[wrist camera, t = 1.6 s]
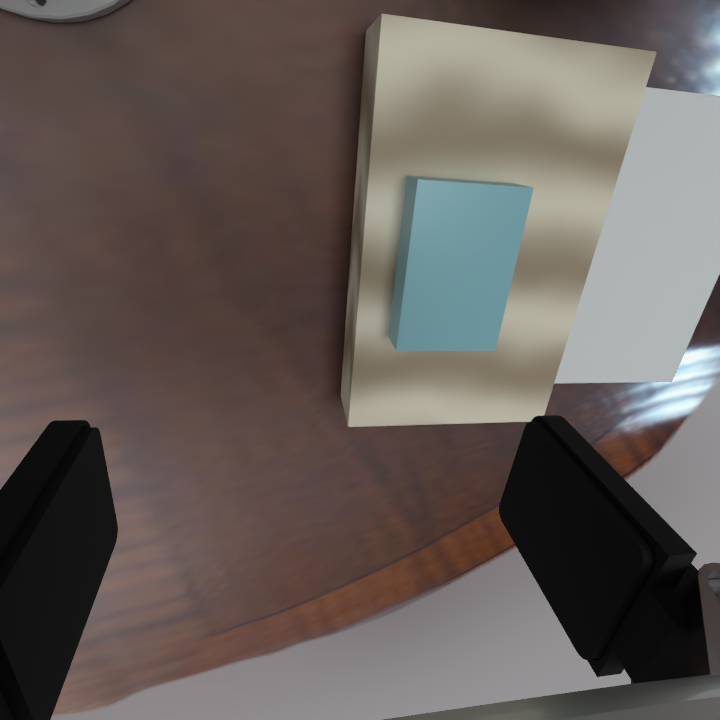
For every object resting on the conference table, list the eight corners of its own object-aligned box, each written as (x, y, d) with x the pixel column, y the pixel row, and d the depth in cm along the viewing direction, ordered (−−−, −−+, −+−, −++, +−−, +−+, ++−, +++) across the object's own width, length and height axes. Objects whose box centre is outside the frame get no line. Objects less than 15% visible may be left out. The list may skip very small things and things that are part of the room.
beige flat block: (365, 30, 23) (381, 13, 20) (605, 62, 26) (656, 51, 22) (340, 395, 33) (348, 426, 30) (516, 392, 36) (542, 421, 32)
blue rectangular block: (407, 175, 23) (417, 179, 21) (514, 183, 24) (533, 187, 22) (388, 336, 27) (396, 350, 25) (481, 336, 28) (495, 350, 26)
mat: (607, 83, 26) (611, 82, 26) (787, 105, 29) (793, 105, 28) (525, 381, 35) (527, 383, 35) (667, 379, 38) (671, 381, 37)
